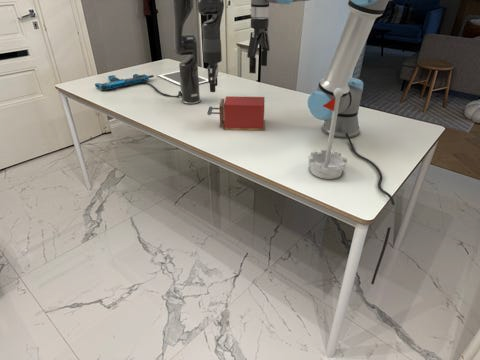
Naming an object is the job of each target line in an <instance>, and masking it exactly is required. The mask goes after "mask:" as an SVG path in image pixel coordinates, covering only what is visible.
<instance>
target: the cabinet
mask: <svg viewBox="0 0 480 360" xmlns="http://www.w3.org/2000/svg"><path fill="white" fill-rule="evenodd" d="M264 127H265V96H225V98H224V130H235V131H236V130H237V131H264Z"/></svg>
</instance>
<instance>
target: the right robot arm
mask: <svg viewBox="0 0 480 360" xmlns="http://www.w3.org/2000/svg"><path fill="white" fill-rule="evenodd" d="M306 1H310V0H250V9H249V12H250V17H251V18H250V28H251V29H253V32H252V31H251V32H250V35H249V37H250V38H249V44H248V48H247V54H246V58H249V62H248V63H249V64H248V65H249V68H248V69H249V74H254V75H255V74H256V73H257V57H256V55H257V52H258V49H259V45H260V47H261V51H260V66H262V67H267V66H268V52H269V51H270V49H271V48H270V40H269V32H268V30H269V29H268V28H269V22H270V21H269V17H270V3H271V4H276V5H277V4H279V5H282V6H283V5H290V4H291V3H294V2H295V3H296V2H306ZM392 1H393V0H348V1H347V7H348V9H349V13H348V16H347V19H346V21H345V24H344V26H343V29H342V32H341V35H340V37H339V40H338V42H337V45H336V48H335V50H334V54H333V57H332V58H331V61H330V63H329V67H328V70H327V73H326V75H325V77H322V78H321V79H320V80H319V82H318V85H317V88H316V90H314V91H313V92H311V94H309V96H308V98H307V108H308V109H309V112H310V114H311V115H312V116H313V117H314V118H316V119H317V120H319V121H323V122H324V123H323V126H322V130H323V132H324V133H325V134H326V135H329V134H330V127H331V121H332V114H333V111H332V110H330V109H328V108H326V107H323V105H325V104H326V103H328V102H329V101H331V100H332V99H334V98H335V96H334V90H335V89H336V88H341V89H342V90H343V95H342V96H341V97H340V101H339V107H338V113H337V120H336V126H335V132H334V137H335V138H339V139H341V138H342V139H347V140H348V143H349V145H350V148H351V151H352V153H353V154H354V155H355V156H357V157H358V158H360V159H362V160H364V161H366V162H367V163H369V164H371V166H373V167H374V168H375V170H376V171H377V173H378V175H379V176H378V177H379V179H378V182H377V187H378V190H379V191H380V192H381V193H382V194H383V195H386V196H387V197H388V198H389V200H390V203H391V205H393V206H395V205H396V204H395V200H394V198H393V196H392V195H391V194H390V193H389V192H387V191H386V190H384V189H383V188H382V181H383V174H382V171H381V170H380V168H379V167H378V165H376V164H375V163H374V162H373V161H372V160H371V159H368V158H367V157H365V156H363V155H361V154H359V153H358V152H357V150H356V149H355V147H354V144H353V143H352V140H351V138H354V137H356V136H357V135H359V132H360V125H359V118H358V117H359V116H358V114H359V111H360V110H359V109H360V105H361V100H362V95H363V91H364V82H363V80H362V79H359V78H355V77H352V75H353V73H354V71H355V68H356V66H357V63H358V61H359V58H360V57H361V54H362V51H363V49H364V47H365V45H366V42H367V40H368V38H369V35H370V33H371V31H372V28H373V26H374V23H375V21H376V19H377V18H379V17H381V16H383V14H384V12H385V10H386V8H387V5H388V3H389V2H392ZM390 232H391V226H389V227H387V230H386V234H385V237H384V238H385V239H384V242H383V246H382V248H381V252H380V255H379V258H378V261H377V264H376V266H375V270H374V272H373V276H372V280H371V282H370V284H371V285H375V280H376V278H377V274H378V271H379V268H380V265H381V263H382V259H383V257H384V254H385V252H386V248H387V244H388V242H389V241H388V240H389V238H390V237H389V236H390Z"/></svg>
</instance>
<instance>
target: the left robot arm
mask: <svg viewBox="0 0 480 360" xmlns="http://www.w3.org/2000/svg"><path fill="white" fill-rule="evenodd" d="M195 7H196V10H197V12H198V13H199V14H200V15H202V16H211V15H212V16H211V19H208V20H206V21H204V22H203V23H202V25H201V27H202V29H201V30H202V56H203V58H202V59H203V62H204V63H206V64H208V66H207V79H208V82H207V83H208V84H209V92H210V93H216V87H217V86H218V76H219V63H221V62H222V61H223V60H222V59H223V56H222V53H223V52H222V40H221V23H222V18H223V14H224V9H225V0H195ZM193 9H194V0H172V10H173V11H172V12H173V49H174V52H175V55H177V56H188V57H186V59H184V60H181V61H180V62H179V64H178V68H179V71H180V78H181V83H180V86H179V87H180V90H179V91H178V94H177V95H170V94H167V93H164V92H161V91H160V90H158V89H157V87H155V86H154V85H153V84H151V83H150V82H147V81H146V82H139V84H145V85H148V86H150V87H151V88H153V89H154V90H155V92H157V93H158V94H160V95H162V96H166V97H169V98H179V97H181V102H182V103H183V104H186V105H195V104H199V103H200V102H201V95H200V94H201V93H200V84H199V78H198V75H199V65H198V62H199V61H198V60H199V59H198V40H197V37H196V35H195V34H192V33H189V34H183V31H184V27H185V24H186V23H187V21H188V19H189V17H190V15H192V12H193Z"/></svg>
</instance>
